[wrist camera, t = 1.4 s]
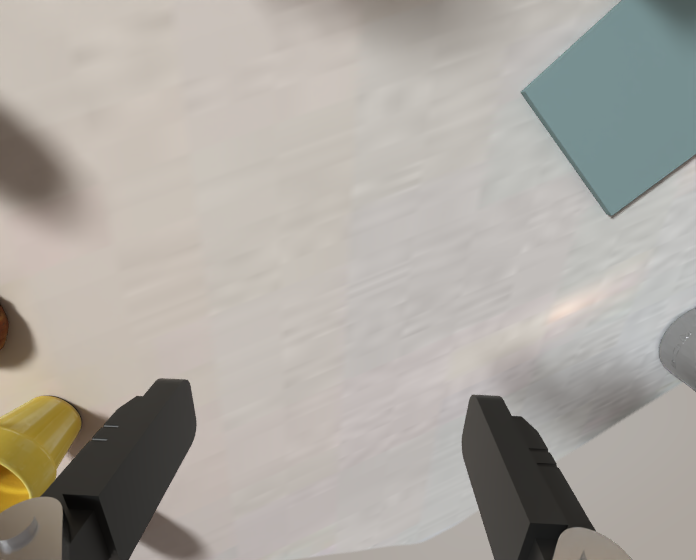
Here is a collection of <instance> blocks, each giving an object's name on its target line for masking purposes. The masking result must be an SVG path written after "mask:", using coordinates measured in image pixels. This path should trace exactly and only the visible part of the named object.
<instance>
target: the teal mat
mask: <svg viewBox="0 0 696 560" xmlns="http://www.w3.org/2000/svg"><path fill="white" fill-rule="evenodd" d="M521 94H522V95H523V96H524V98H525V99H526V101H527V102H528V104H529V105H530V106H531V108H532V109H533V111H534V112H535V113H536V115H537V116H538V118H539V119H540V121H541V122H542V123H543V125H544V126H545V128H546V129H547V130H548V132H549V133H550V135H551V136H552V138H553V139H554V140H555V142H556V143H557V145H558V146H559V147H560V149H561V150H562V152H563V153H564V155H565V156H566V157H567V159H568V160H569V162H570V163H571V164H572V166H573V167H574V169H575V170H576V172H577V173H578V174H579V176H580V177H581V179H582V180H583V181H584V183H585V184H586V186H587V187H588V189H589V190H590V191H591V193H592V194H593V196H594V197H595V198H596V200H597V201H598V203H599V204H600V206H601V207H602V208H603V210H604V211H605V213H606V214H608V215H611V216H612V215H614V214H615V213H616V212H618V211H619V210H620V209H622V208H623V207H624V206H626V205H627V204H628V203H630V202H631V201H633V200H634V199H635V198H637V197H638V196H639V195H641V194H642V193H643V192H645V191H646V190H647V189H649V188H650V187H652V186H653V185H654V184H656V183H657V182H658V181H660V180H661V179H662V178H664V177H665V176H666V175H668V174H669V173H671V172H672V171H673V170H675V169H676V168H677V167H679V166H680V165H681V164H683V163H684V162H685V161H687V160H688V159H690V158H691V157H692V156H694V155H695V154H696V0H621V1H620V2H619V3H618V4H617V5H616V6H615V7H614V8H613V9H612V10H610V11H609V12H608V13H607V14H606V15H605V16H604V17H603V18H602V19H601V20H599V21H598V22H597V23H596V24H595V25H594V26H593V27H592V28H591V29H590V30H589V31H587V32H586V33H585V34H584V35H583V36H582V37H581V38H580V39H579V40H578V41H576V42H575V43H574V44H573V45H572V46H571V47H570V48H569V49H568V50H567V51H565V52H564V53H563V54H562V55H561V56H560V57H559V58H558V59H557V60H556V61H554V62H553V63H552V64H551V65H550V66H549V67H548V68H547V69H546V70H545V71H543V72H542V73H541V74H540V75H539V76H538V77H537V78H536V79H535V80H534V81H532V82H531V83H530V84H529V85H528V86H527V87H526V88H525V89H524V90H523V91H521Z"/></svg>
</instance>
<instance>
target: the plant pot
mask: <svg viewBox="0 0 696 560" xmlns="http://www.w3.org/2000/svg"><path fill="white" fill-rule="evenodd" d="M80 429H81V418H80V415H79V413H78V412H77V411H76V409H75V408H74V407H73V406H71V405H70V404H69V403H67V402H66V401H64V400H62V399H59V398H57V397H52V396H40V397H36V398H34V399H32V400H31V401H29V402H27V403H25V404H23V405H22V406H20V407H18V408H16V409H14V410H13V411H11V412H9V413H7V414H5V415H3V416H2V417H0V513H1V512H3V511H4V510H6V509H8V508H10V507H11V506H13V505H15V504H17V503H20V502H22V501H25V500H28V499H31V498H35V497H40V496H41V495H42V494H43V493H44V492H45V491H46V490H47V489H48V487H49V486H50V485H51V484H52V483H53V482H54V481H55V478H56V469H57V468H58V466H59V464H60V463H61V461H62V459H63V458H64V456H65V454H66V453H67V451H68V449H69V448H70V446H71V444H72V443H73V441H74V439H75V438H76V436H77V434H78V433H79V431H80Z"/></svg>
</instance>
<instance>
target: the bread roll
mask: <svg viewBox="0 0 696 560" xmlns="http://www.w3.org/2000/svg"><path fill="white" fill-rule="evenodd" d="M8 326H9V323H8V319H7V317H6V314H5V312H4V310H3V308H2V306H1V305H0V350H1V349H2V348H3V346H4V344H5V341H6V336H7V333H8Z"/></svg>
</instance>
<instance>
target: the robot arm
mask: <svg viewBox="0 0 696 560" xmlns="http://www.w3.org/2000/svg"><path fill="white" fill-rule="evenodd" d="M659 356H660V360H661V362H662V364H663V365H664V367H665V368H666V369H667V370H669V371H670V372H671V373H672V374H674V375H675V376H676V377H677V378H679V379H680V380H681V381H683V382H684V383H685V384H686V385H688V386H689V387H690V388H692V389H693V390H694V391H695V392H696V308H695V309H693V310H690V311H688V312H687V313H685V314H684V315H682V316H681V317H679V318H678V319H677V320H676V321H675V322H674V323H673V324H672V325H671V326H670V327H669V329H668V330H667V331H666V332H665V334H664V336H663V338H662V340H661V344H660V347H659ZM195 432H196V416H195V410H194V404H193V398H192V392H191V386H190V383H189V381H188V380H183V379H163V378H161V379H158V380H156V381H155V383H154V384H153V385H152V386H151V387H150V389H149V390H148V391H147V392H146V393H145V395H144V396H136V397H135V398H133V399H132V400H130V401H129V402H127V403H126V404H124V405H123V406H121V407H120V408H118V409H117V410H116V412H115V413H114V414H113V415H112V416H111V417H110V418H109V419H108V421H107V422H106V423H105V424H104V427H103V428H101V429H100V430H99V431H98V432H97V433H96V434H95V435H94V436H93V438H92V441H89V442H88V443H87V444H86V446H85V447H84V448H83V449H82V450H81V451H80V452H79V453H78V455H77V456H76V457H75V458H74V459H73V460H72V461H71V463H70V464H69V465H68V466H67V467H66V468H65V469H64V470H63V472H62V473H61V474H60V475H59V476H58V477H57V478H56V480H55V481H54V482H53V483H52V484H51V485H50V486H49V487H48V489H47V490H46V491H45V492H44V493H43V494H42V495H41V496H40V497H35V498H31V499H28V500H25V501H22V502H20V503H17V504H15V505H13V506H11V507H10V508H8V509H6V510H4V511H3V512H1V513H0V560H129V558H130V556H131V554H132V553H133V551H134V549H135V547H136V545H137V543H138V542H139V540H140V538H141V536H142V534H143V532H144V531H145V529H146V527H147V525H148V523H149V522H150V520H151V518H152V516H153V514H154V512H155V511H156V509H157V507H158V505H159V503H160V501H161V500H162V498H163V496H164V494H165V492H166V490H167V489H168V487H169V485H170V483H171V481H172V479H173V478H174V476H175V474H176V472H177V470H178V468H179V467H180V465H181V463H182V461H183V459H184V457H185V456H186V454H187V452H188V450H189V448H190V447H191V445H192V442H193V440H194V437H195ZM462 453H463V458H464V462H465V465H466V468H467V472H468V475H469V478H470V481H471V485H472V488H473V491H474V494H475V498H476V501H477V504H478V507H479V511H480V514H481V517H482V520H483V524H484V527H485V530H486V533H487V537H488V540H489V543H490V546H491V550H492V553H493V556H494V559H495V560H632V558H631V557H630V556H629V555H628V554H627V553H626V552H625V551H624V550H623V549H622V548H621V547H620V546H619V545H617V544H616V543H615V542H613V541H612V540H610V539H609V538H607V537H606V536H604V535H602V534H600V533H598V532H596V530H595V529H594V527H593V526H592V524H591V522H590V521H589V519H588V517H587V516H586V514H585V512H584V510H583V509H582V507H581V505H580V503H579V502H578V500H577V498H576V496H575V495H574V493H573V491H572V490H571V488H570V486H569V484H568V483H567V481H566V479H565V478H564V476H563V474H562V472H561V471H560V469H559V468H557V466H556V462H555V460H554V459H553V457H552V455H551V454H550V453H548V448H547V447H546V445H545V443H544V442H543V440H542V438H541V436H540V435H539V433H538V431H536V430H535V429H534V428H533V427H532V426H531V425H530V424H529V423H528V422H527V421H526V420H525V419H524V418H522V417H520V416H511V414H510V412H509V410H508V408H507V406H506V404H505V402H504V400H503V399H502V398H501V397H500V396H489V395H472V396H471V397H470V400H469V404H468V409H467V414H466V419H465V424H464V429H463V434H462Z"/></svg>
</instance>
